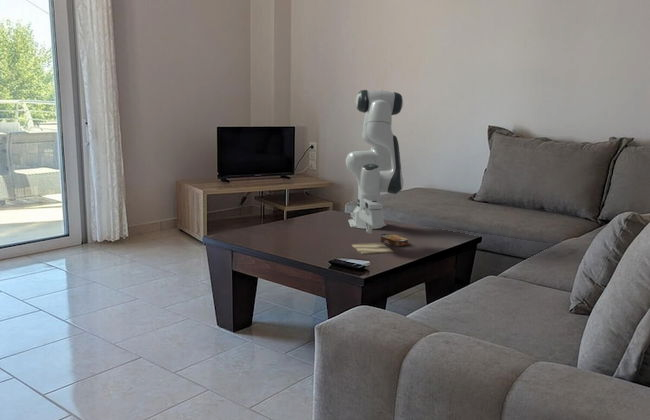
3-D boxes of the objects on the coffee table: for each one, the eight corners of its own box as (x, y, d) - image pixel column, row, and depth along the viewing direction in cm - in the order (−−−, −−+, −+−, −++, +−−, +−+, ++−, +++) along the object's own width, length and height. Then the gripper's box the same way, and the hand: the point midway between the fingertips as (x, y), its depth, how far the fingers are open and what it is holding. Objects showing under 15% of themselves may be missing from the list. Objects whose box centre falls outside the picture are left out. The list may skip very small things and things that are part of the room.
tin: (376, 234, 273) (390, 231, 277) (376, 241, 274) (390, 238, 278) (397, 241, 260) (411, 238, 265) (397, 248, 261) (412, 244, 265)
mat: (351, 245, 263) (351, 244, 263) (381, 244, 267) (381, 242, 267) (361, 254, 249) (361, 252, 249) (393, 252, 252) (393, 251, 252)
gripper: (355, 198, 268) (355, 228, 270) (370, 206, 248) (369, 238, 251) (369, 197, 269) (368, 227, 272) (384, 205, 250) (383, 237, 252)
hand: (369, 232), depth 261 cm, fingers closed
